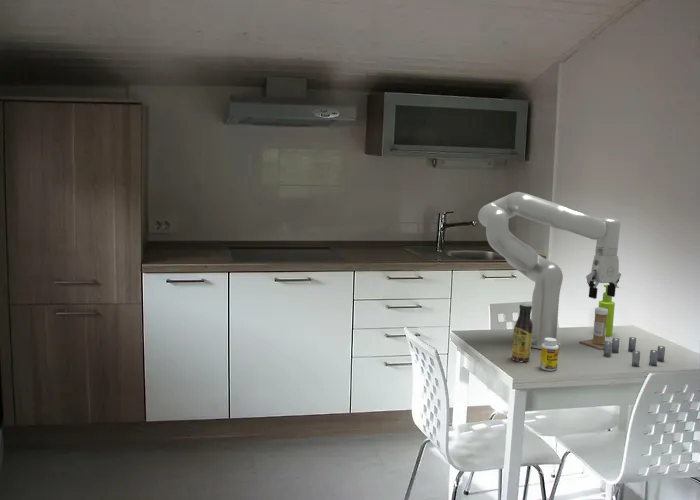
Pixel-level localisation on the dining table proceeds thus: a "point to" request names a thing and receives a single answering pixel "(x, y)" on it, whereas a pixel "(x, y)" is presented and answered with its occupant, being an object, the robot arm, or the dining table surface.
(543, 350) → the supplement bottle
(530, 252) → the robot arm
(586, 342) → the walnut pad
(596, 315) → the sprinkles bottle
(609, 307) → the soap dispenser
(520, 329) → the sauce bottle
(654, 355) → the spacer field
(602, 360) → the dining table surface
